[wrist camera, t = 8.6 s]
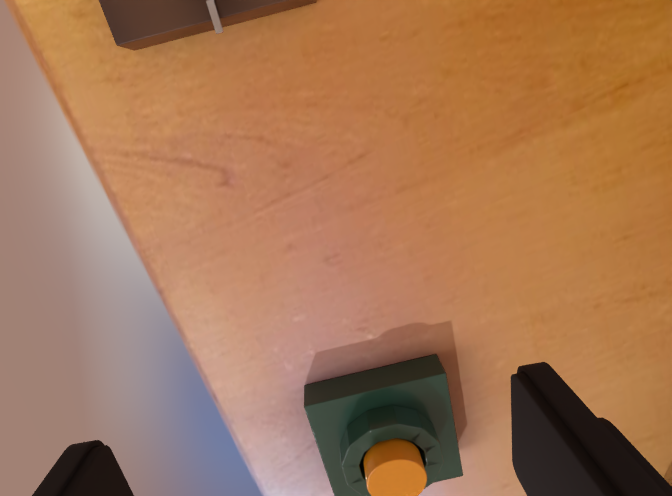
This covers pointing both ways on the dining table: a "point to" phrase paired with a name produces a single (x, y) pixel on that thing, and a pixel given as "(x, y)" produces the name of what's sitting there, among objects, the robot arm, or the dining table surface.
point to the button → (394, 469)
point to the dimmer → (182, 17)
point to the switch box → (383, 420)
